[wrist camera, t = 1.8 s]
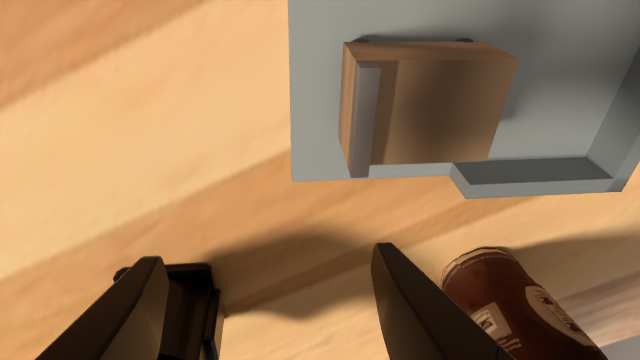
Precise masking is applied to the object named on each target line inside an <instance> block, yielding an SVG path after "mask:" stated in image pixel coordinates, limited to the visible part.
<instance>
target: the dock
mask: <svg viewBox="0 0 640 360" xmlns="http://www.w3.org/2000/svg"><path fill="white" fill-rule="evenodd" d="M288 19H289V67H290V114H291V161H292V182H306V181H330V180H355V179H379V178H404V177H428V176H449V177H450V178H451V179H452V181H453V182H454V184H455V185H456V186H457V188H458V189H459V190H460V192H461V193H462V195H463V196H464V197H465V199H479V198H500V197H520V196H541V195H562V194H583V193H604V192H622V190H623V188H624V187H625V185H626V183H627V181H628V180H629V178H630V176H631V175H632V173H633V171H634V170H635V168H636V166H637V165H638V163H639V161H640V0H288ZM357 38H365V39H368V40H369V41H371V42H454V41H456V40H458V39H461V38H469V39H472V40H473V41H475V42H487V43H489V44H491V45H493V46H495V47H497V48H499V49H500V50H502V51H504V52H506V53H508V54H510V55H512V56H514V57H516V58H518V59H519V62H518V65H517V68H516V71H515V74H514V77H513V81H512V84H511V87H510V90H509V93H508V96H507V99H506V102H505V105H504V109H503V112H502V115H501V118H500V121H499V124H498V127H497V130H496V133H495V136H494V140H493V143H492V146H491V149H490V152H489V155H488V158H487V161H481V162H454V163H427V164H400V165H373V166H370V168H369V176H368V177H365V178H351V176H350V173H349V170H348V167H347V164H346V161H345V158H344V154H343V151H342V148H341V145H340V142H339V139H338V128H339V111H340V94H341V77H342V60H343V42H351V41H352V40H354V39H357Z"/></svg>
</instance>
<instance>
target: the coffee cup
mask: <svg viewBox="0 0 640 360" xmlns="http://www.w3.org/2000/svg"><path fill="white" fill-rule="evenodd" d="M441 289H442V291H443V292H444V293H445V294H446V295H447V296H448V297H450V298H451V299H452V300H453V301H454V302H455V303H456V304H457V305H458V306H459V307H460V308H461V309H462V310H463V311H464V312H465V313H467V314H468V315H469V316H470V317H471V318H472V319H473V320H474V321H475V322H476V323H477V324H478V325H479V326H480V327H481V328H482V329H484V330H485V331H486V332H487V333H488V334H489V335H490V336H491V337H492V338H493V339H494V340H495V341H496V342H497V343H498V346H499V345H500V346H502V347H503V348H504V349H505V350H506V351H507V352H508V353H509V354H510V355H511V356H512V357H513V358H514V359H516V360H608V359H607V357H606V356H605V355H604V354H603V352H602V351H601V350H600V349H599V348H598V347H597V345H596V344H595V343H594V342H593V341H592V340H591V339H590V338H589V337H588V336H587V335H586V334H585V333H584V331H583V330H582V329H581V328H580V327H579V326H578V325H577V324H576V323H575V322H574V321H573V320H572V319H571V318H570V317H569V316H568V315H567V314H566V312H565V311H564V310H563V309H562V308H561V307H560V306H559V305H558V304H557V303H556V301H555V300H554V299H553V298H552V297H551V296H550V295H549V294H548V293H547V292H546V290H545V289H544V288H543V287H542V286H540V285H539V284H537V283H535V282H534V281H533V280H532V279H531V278H530V277H529V276H528V274H527V273H526V272H525V271H524V269H523V268H522V267H521V265H520V264H519V262H518V261H517V260H515V258H514V257H512V256H511V255H510V254H508V253H506V252H503V251H500V250H497V249H478V250H476V251H473V252H471V253H469V254H466V255H463V256H461V257H460V258H458V259H457V260H454V261H453V262H452V263H451V264H450V265H449V266H447V268H446V269H445V270H444V272H443V275H442V279H441Z"/></svg>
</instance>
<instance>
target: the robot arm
mask: <svg viewBox="0 0 640 360" xmlns="http://www.w3.org/2000/svg"><path fill="white" fill-rule="evenodd" d="M371 276H372V282H373V287H374V293H375V298H376V304H377V309H378V315H379V320H380V325H381V330H382V334H383V338H384V341H385V345H386V348H387V351H388V355H389V358H390V360H516V359H514V358H513V357H512V356H511V355H510V354H509V353H508V352H507V351H506V350H505V349H504V348H503V347H502V346H500V345H499V346H498V343H497V342H496V341H495V340H494V339H493V338H492V337H491V336H490V335H489V334H488V333H487V332H486V331H485V330H484V329H482V328H481V327H480V326H479V325H478V324H477V323H476V322H475V321H474V320H473V319H472V318H471V317H470V316H469V315H468V314H467V313H465V312H464V311H463V310H462V309H461V308H460V307H459V306H458V305H457V304H456V303H455V302H454V301H453V300H452V299H451V298H450V297H448V296H447V295H446V294H445V293H444V292H443V291H442V290H441V289H440V288H439V287H438V286H437V285H436V284H435V283H434V282H433V281H432V280H430V279H429V278H428V277H427V276H426V275H425V274H424V273H423V272H422V271H421V270H420V269H419V268H418V267H417V266H416V265H415V264H413V263H412V262H411V261H410V260H409V259H408V258H407V257H406V256H405V255H404V254H403V253H402V252H401V251H400V250H399V249H398V248H396V247H395V246H394V245H393V244H392V243H389V242H388V243H376V244H375V245H374V249H373V255H372V262H371ZM113 280H114V282H115V283H114V284H113V285H112V286H111V287H110V288H109V289H108V290H107V291H106V292H105V293H104V294H102V295H101V296H100V297H99V298H98V299H97V300H96V301H95V302H94V303H93V304H92V305H91V306H90V307H89V308H88V309H87V310H86V311H85V312H84V313H83V314H82V315H81V316H80V317H79V318H77V319H76V320H75V321H74V322H73V323H72V324H71V325H70V326H69V327H68V328H67V329H66V330H65V331H64V332H63V333H62V334H61V335H60V336H59V337H58V338H57V339H56V340H55V341H53V342H52V343H51V344H50V345H49V346H48V347H47V348H46V349H45V350H44V351H43V352H42V353H41V354H40V355H39V356H38V357H37V358H36V359H35V360H219V356H220V348H221V339H222V331H223V323H224V314H225V309H224V304H223V299H222V293H221V290H220V289H219V288H216V286H215V281H214V276H213V270H212V268H211V267H210V266H208V265H194V266H178V267H165V266H164V262H163V259H162V258H161V257H160V256H144V257H142V258H140V259H139V260H138V261H137V262H136V263H135V264H134V265H133V266H132V267H131V268H130V269H129V270H119V271H117V272H116V273H115V275H114V278H113Z"/></svg>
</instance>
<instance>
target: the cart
mask: <svg viewBox="0 0 640 360" xmlns="http://www.w3.org/2000/svg"><path fill="white" fill-rule="evenodd" d="M518 62H519V59H518V58H516V57H514V56H512V55H510V54H508V53H506V52H504V51H502V50H500V49H499V48H497V47H495V46H493V45H491V44H489V43H487V42H475V41H473V40H472V39H469V38H461V39H458V40H456V41H454V42H371V41H369V40H368V39H365V38H357V39H354V40H352V41H351V42H343V60H342V77H341V94H340V111H339V128H338V139H339V142H340V145H341V148H342V151H343V154H344V158H345V161H346V164H347V167H348V170H349V173H350V176H351V178H365V177H368V176H369V168H370V166H373V165H400V164H427V163H454V162H481V161H487V158H488V155H489V152H490V149H491V146H492V143H493V140H494V136H495V133H496V130H497V127H498V124H499V121H500V118H501V115H502V112H503V109H504V105H505V102H506V99H507V96H508V93H509V90H510V87H511V84H512V81H513V77H514V74H515V71H516V68H517V65H518Z"/></svg>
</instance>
